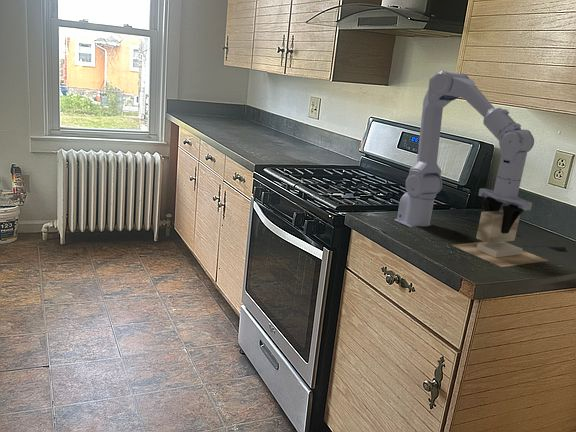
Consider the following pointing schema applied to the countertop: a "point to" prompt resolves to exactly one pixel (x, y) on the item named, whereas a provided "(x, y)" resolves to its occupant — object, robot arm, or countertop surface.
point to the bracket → (557, 248)
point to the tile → (499, 249)
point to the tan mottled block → (495, 228)
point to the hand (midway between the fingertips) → (497, 230)
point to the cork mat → (500, 261)
